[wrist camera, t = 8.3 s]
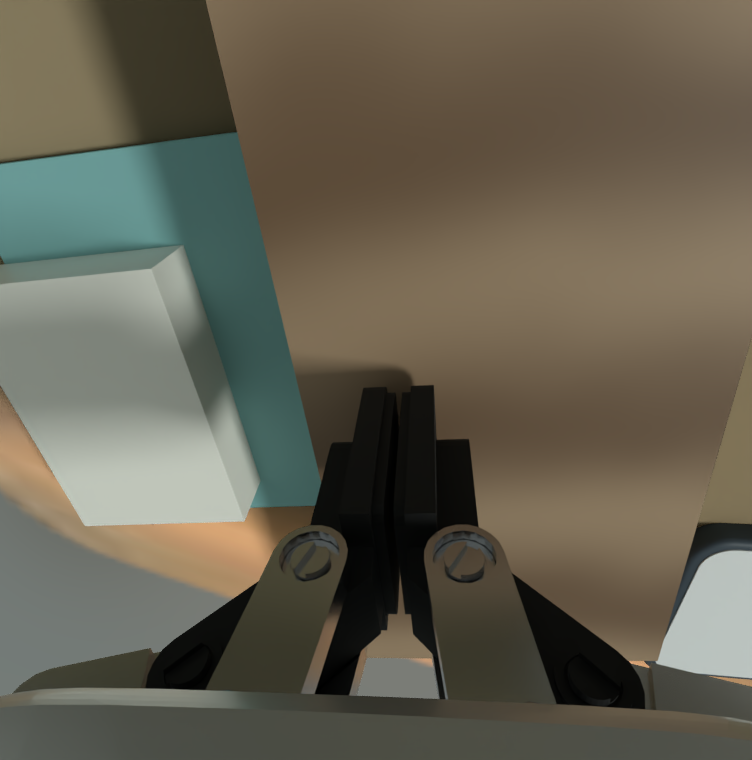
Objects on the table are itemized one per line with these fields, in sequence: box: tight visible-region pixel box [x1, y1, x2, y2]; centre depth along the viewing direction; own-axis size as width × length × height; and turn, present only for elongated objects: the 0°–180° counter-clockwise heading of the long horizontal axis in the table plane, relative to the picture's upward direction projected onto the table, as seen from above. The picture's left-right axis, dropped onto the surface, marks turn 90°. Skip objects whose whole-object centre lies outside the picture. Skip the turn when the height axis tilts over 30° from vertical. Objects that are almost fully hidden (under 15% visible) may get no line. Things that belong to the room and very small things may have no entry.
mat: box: [0, 132, 321, 508], centre depth 17 cm, size 13×9×1 cm
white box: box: [0, 245, 260, 526], centre depth 16 cm, size 9×6×2 cm, turn 7°
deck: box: [206, 0, 752, 661], centre depth 14 cm, size 20×10×4 cm, turn 7°
